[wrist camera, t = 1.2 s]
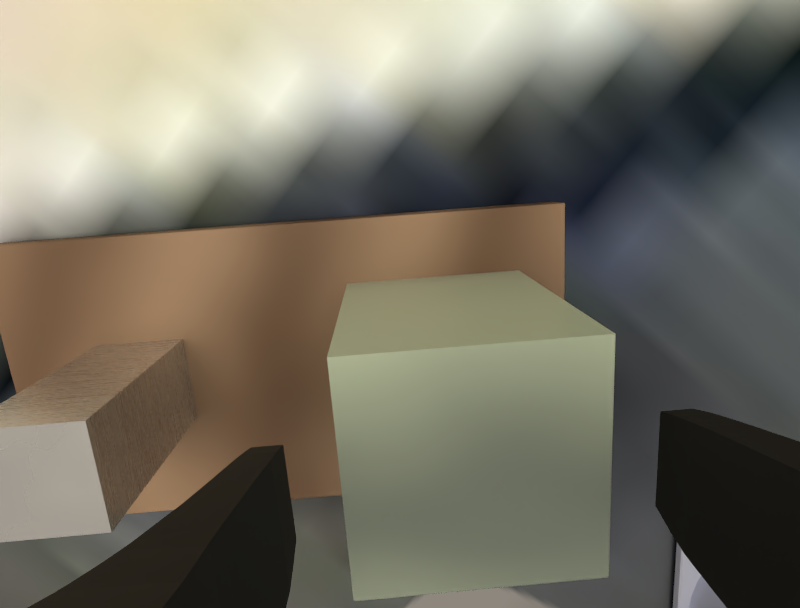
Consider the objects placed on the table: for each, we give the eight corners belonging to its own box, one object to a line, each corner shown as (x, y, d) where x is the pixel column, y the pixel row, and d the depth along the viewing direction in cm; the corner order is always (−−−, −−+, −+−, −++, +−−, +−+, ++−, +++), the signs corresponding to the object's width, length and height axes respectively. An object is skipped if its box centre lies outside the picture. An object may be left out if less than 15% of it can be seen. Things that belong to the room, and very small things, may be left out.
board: (553, 201, 16) (564, 202, 15) (553, 459, 19) (563, 475, 18) (1, 242, 16) (-23, 247, 15) (67, 501, 18) (50, 520, 17)
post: (183, 338, 16) (85, 420, 11) (197, 417, 17) (111, 532, 11) (96, 345, 16) (-47, 431, 10) (113, 424, 16) (-13, 543, 11)
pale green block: (518, 270, 16) (615, 333, 9) (521, 427, 17) (608, 577, 11) (347, 283, 16) (326, 357, 9) (362, 440, 17) (353, 601, 11)
